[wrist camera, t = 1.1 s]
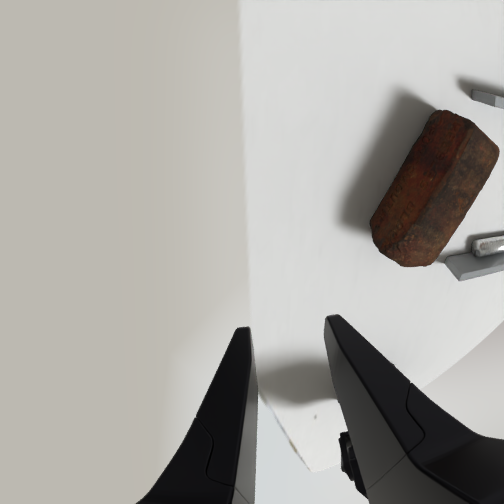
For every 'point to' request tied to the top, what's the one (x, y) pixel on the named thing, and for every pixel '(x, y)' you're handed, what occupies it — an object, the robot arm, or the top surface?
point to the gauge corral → (468, 263)
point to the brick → (433, 190)
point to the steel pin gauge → (488, 246)
